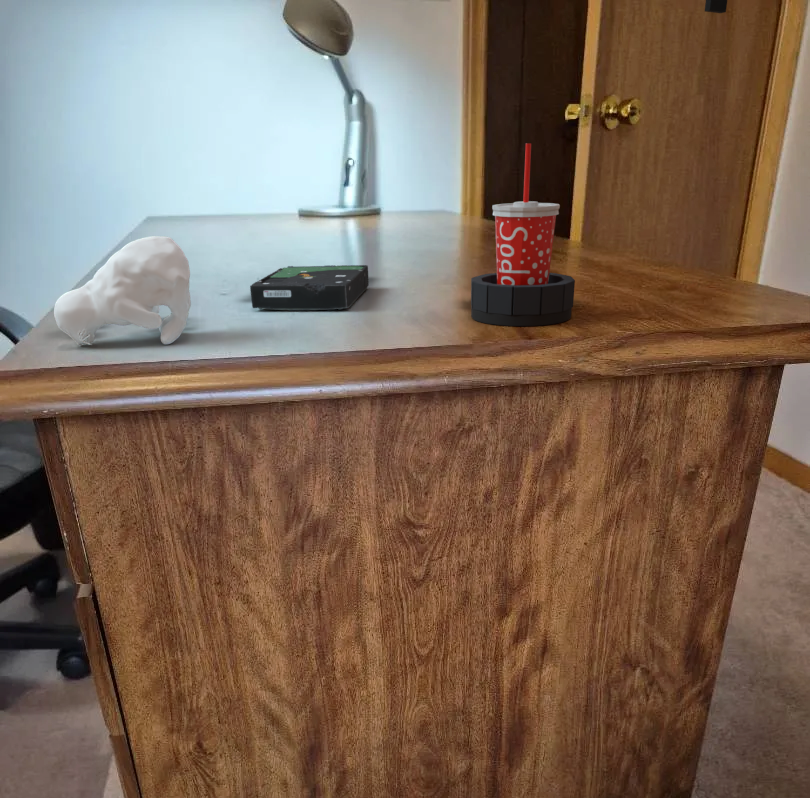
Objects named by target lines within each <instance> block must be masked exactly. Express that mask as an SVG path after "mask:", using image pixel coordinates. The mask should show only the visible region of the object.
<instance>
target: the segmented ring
mask: <svg viewBox="0 0 810 798" xmlns="http://www.w3.org/2000/svg"><path fill="white" fill-rule="evenodd" d="M575 285H576V279H574V278H573V277H572V276H571V275H567V274H561V273H555V272H549V281H548V284H542V285H503V284H497V272H491V273H484V274H480V275H477V276H472V277H471V278H470V309H471V311H470V317H471V319H472V320H474V321H475V322H479V323H482V324H486V325H493V326H504V327H542V326H550V325H556V324H561V323H564V322H567V321H569V320H570V319H571V318H572V311H573V310H572V309H573V308H574V301H575V299H574V298H575V287H576V286H575Z"/></svg>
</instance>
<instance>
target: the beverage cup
mask: <svg viewBox="0 0 810 798" xmlns="http://www.w3.org/2000/svg"><path fill="white" fill-rule="evenodd" d="M531 155H532V143H530V142H529V143H525V156H524V177H523V178H524V179H523V199H522V200H523V201H514V202H511V203H499V204H492V207H491V208H492V216H494V220H495V221H494V222H495V223H494V224H495V226H494V227H495V254H496V255H495V256H496V257H495V259H496V260H495V261H496V273H497V284H503V285H542V284H548V281H549V273H551V265H552V264H551V263H552V254H553V253H552V252H553V245H554V236H555V229H556V219H557V215H559V214H560V212H559V210H560V207H561V205H560V204H559V203H553V202H538V201H533V200H532V201H531V200H530V181H531V180H530V178H531V159H532V157H531Z"/></svg>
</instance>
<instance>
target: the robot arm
mask: <svg viewBox="0 0 810 798" xmlns="http://www.w3.org/2000/svg"><path fill="white" fill-rule="evenodd" d="M727 6H728V0H705V4H704V12H706V13H716V14H723V13H724V14H725V13H727V8H728V7H727Z"/></svg>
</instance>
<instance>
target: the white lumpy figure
mask: <svg viewBox="0 0 810 798" xmlns="http://www.w3.org/2000/svg"><path fill="white" fill-rule="evenodd" d="M190 277H191V270H190V264H189V260H188V258H187V256H186V255H185V252H184V250H183V249H182V248H181V246H180V245H179V244H178V243H177V242H175V240H174V239H173V238H172V237H170V236H165V235H164V236H163V235H162V236H161V235H160V236H159V235H158V236H157V235H152V236H151V235H150V236H145V237H140V238H137V239H134V240H132V241H130V242H128V243H127V244H125V245H124V246H122V248H120V249H119V250H117V251H116V252H114V253H113V254H112V255H111V256H110V257H109V258H108V259H107V261H106V262H105V263H104V264H103V265H102V266H101V267H100V268H98V269H97V271H96V272H95V273H94V274H93V277H92V278H91V279H89V280H88V281H86V283H85V284H84V285H81V286H80V287H78V288H75V289H72V290H69V291H67V292H64V293H63V294H61V295H60V296H59V297H58V298H57V300H55V301H56V302H55V303H54V306H53V315H54V320H55V323H56V325H57V327H58V329H59V330H60V331H61V332H62V333H65V334H66V335H67V336H69V337H70V338H71V339H72V340H73V341H74V342H75V343H76V344H77V345H78V346H79V345H82V344H84V345H85V344H86V345H90V346H93V343H94V342H95V340H96V332H97V331H98V330H100V329H101V328H102V327H103V326H106V325H108V326H109V325H115V326H123V327H124V326H130V325H134V326H137V327H141V328H144V329H148V330H155V329H158V330H159V332H160V341H161V343H162V344H163V345H171V344H173V343H174V342H175V341H177V339H179V337H180V336H181V335H182V333H183V331H184V330H185V328H186V326H187V323H188V318H189V314H190V309H191V306H192V300H191V292H190V279H191V278H190ZM160 306H166V307H168V309H169V311H170V312H171V313H170V314H168V315H166V316H165V317H164V318H163V319H162V316H161V315H160V312H161V307H160ZM82 346H83V345H82Z"/></svg>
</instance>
